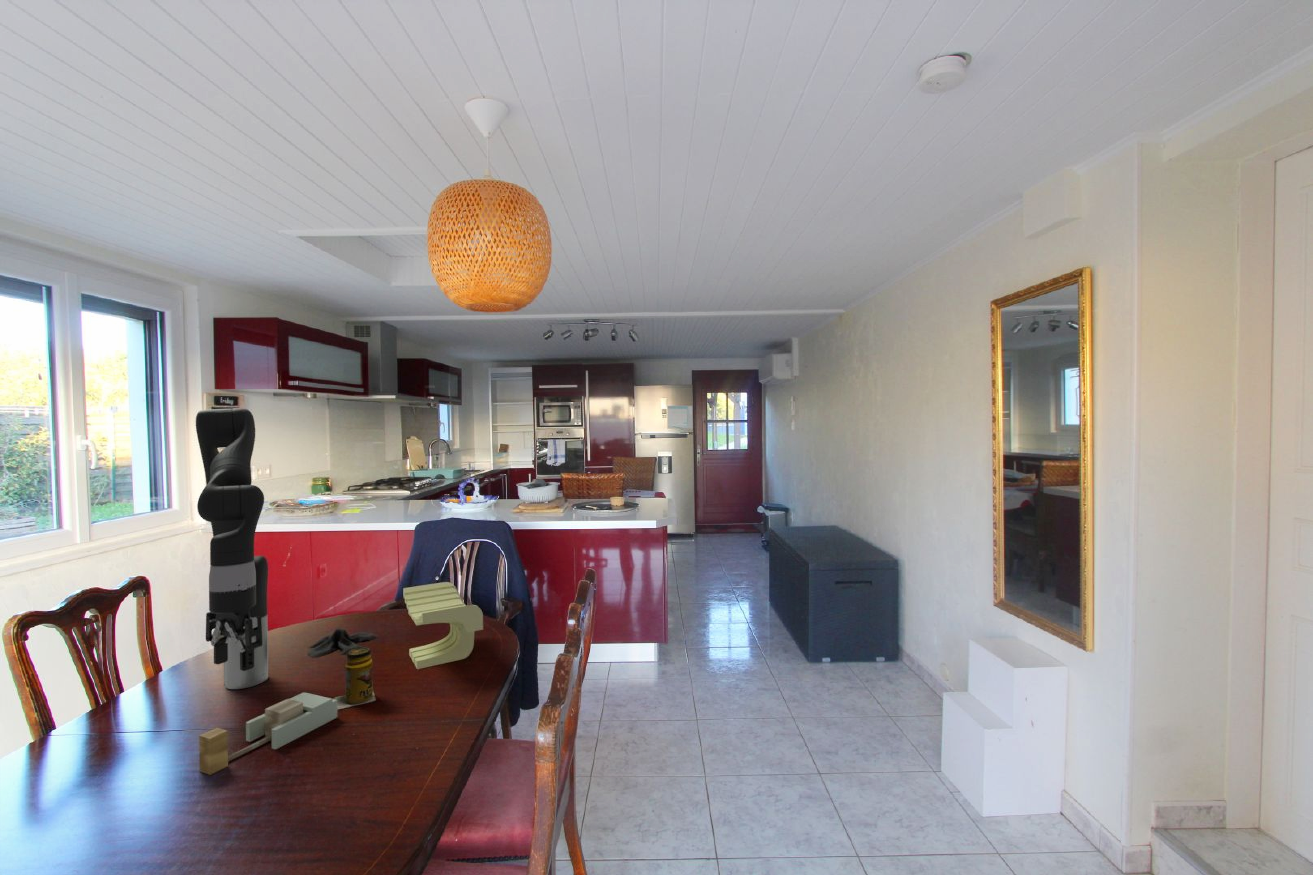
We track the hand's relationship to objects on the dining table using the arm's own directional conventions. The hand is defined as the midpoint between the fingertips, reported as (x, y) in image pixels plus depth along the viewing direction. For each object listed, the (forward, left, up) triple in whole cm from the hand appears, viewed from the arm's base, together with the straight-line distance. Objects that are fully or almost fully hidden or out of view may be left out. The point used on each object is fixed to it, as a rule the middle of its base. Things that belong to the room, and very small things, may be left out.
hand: (233, 666), depth 112 cm
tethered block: (-1, +4, -19) cm, 20 cm away
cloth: (-37, +52, -20) cm, 67 cm away
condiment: (0, +28, -19) cm, 34 cm away
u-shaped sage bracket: (-1, +13, -19) cm, 23 cm away
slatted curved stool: (-1, +57, -19) cm, 60 cm away
